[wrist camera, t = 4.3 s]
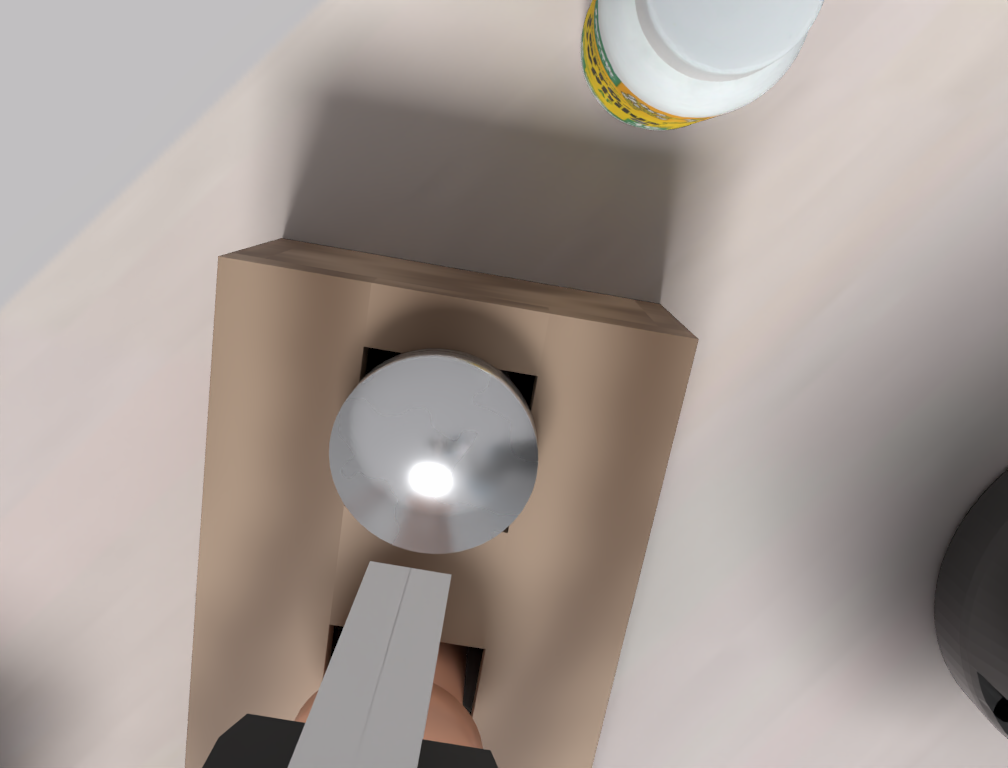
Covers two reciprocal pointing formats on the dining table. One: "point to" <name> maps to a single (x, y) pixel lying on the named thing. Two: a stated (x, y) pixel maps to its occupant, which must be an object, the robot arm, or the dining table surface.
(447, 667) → the button middle
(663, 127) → the supplement bottle
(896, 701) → the dining table surface
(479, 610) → the control box
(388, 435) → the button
